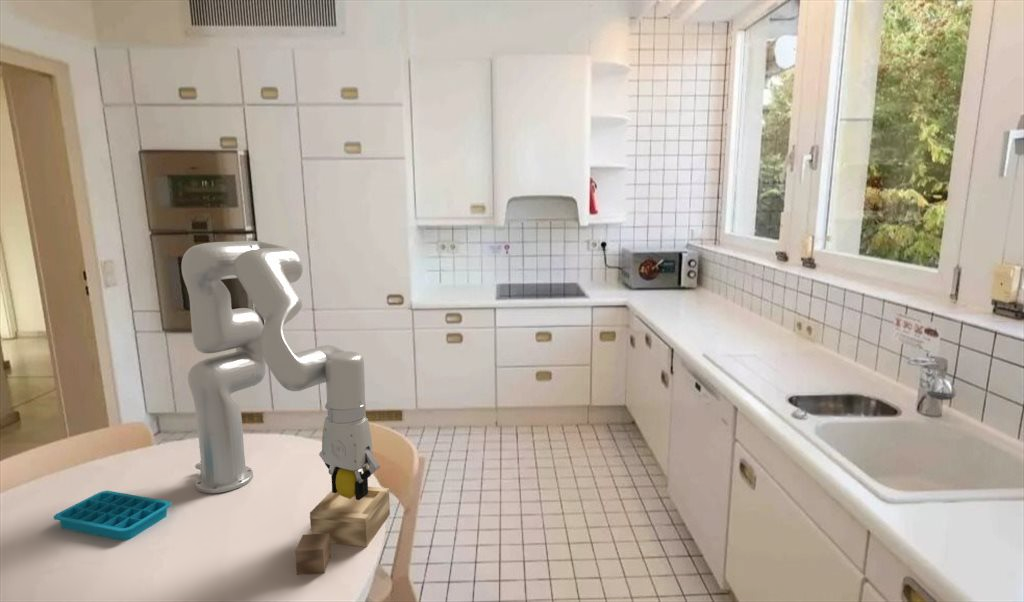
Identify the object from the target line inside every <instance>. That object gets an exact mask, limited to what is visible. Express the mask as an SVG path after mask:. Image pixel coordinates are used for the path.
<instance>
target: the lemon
mask: <svg viewBox="0 0 1024 602" xmlns="http://www.w3.org/2000/svg"><path fill="white" fill-rule="evenodd" d="M361 473H362V474H363V471H361ZM356 481H357V478H356V474H355V471H350V470H346V469H343V468H340V469H339V470H338V473H337V475H336V489H337V491H338V493H339V494H340V495H341V496H343V497H346V498H348V499H351V498H352V497H354V496H356V495H355V482H356Z"/></svg>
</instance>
